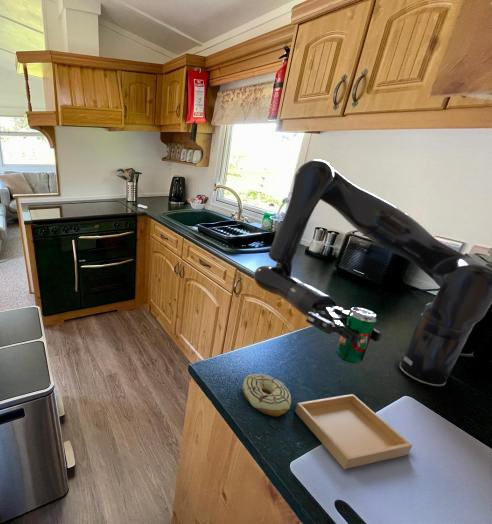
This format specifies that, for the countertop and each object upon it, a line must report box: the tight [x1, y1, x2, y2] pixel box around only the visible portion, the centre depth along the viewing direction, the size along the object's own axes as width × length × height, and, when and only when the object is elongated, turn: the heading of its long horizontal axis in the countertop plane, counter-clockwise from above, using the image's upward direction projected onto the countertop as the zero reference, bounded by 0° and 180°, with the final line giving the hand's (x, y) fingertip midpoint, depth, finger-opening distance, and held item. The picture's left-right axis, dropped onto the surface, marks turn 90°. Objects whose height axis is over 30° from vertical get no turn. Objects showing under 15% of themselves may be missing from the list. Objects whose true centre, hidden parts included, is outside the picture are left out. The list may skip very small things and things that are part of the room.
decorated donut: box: [241, 373, 292, 417], centre depth 68 cm, size 10×11×4 cm
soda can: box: [335, 306, 378, 364], centre depth 64 cm, size 5×5×12 cm
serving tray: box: [294, 393, 413, 470], centre depth 61 cm, size 15×13×3 cm
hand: (367, 338), depth 62 cm, fingers closed on soda can, 5 cm apart
